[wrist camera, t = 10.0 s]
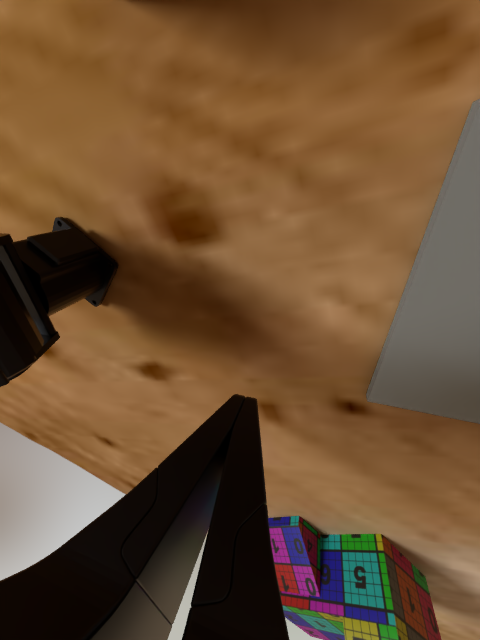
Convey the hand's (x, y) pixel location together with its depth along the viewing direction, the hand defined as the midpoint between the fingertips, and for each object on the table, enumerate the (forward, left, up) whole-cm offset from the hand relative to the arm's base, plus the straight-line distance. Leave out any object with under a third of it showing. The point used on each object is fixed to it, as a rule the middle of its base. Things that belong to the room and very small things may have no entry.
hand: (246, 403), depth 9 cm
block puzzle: (-30, -36, -12) cm, 48 cm away
